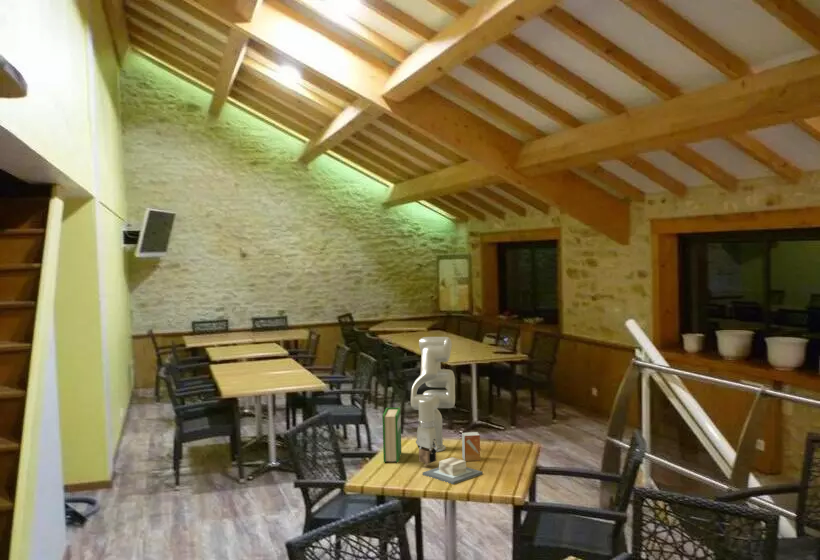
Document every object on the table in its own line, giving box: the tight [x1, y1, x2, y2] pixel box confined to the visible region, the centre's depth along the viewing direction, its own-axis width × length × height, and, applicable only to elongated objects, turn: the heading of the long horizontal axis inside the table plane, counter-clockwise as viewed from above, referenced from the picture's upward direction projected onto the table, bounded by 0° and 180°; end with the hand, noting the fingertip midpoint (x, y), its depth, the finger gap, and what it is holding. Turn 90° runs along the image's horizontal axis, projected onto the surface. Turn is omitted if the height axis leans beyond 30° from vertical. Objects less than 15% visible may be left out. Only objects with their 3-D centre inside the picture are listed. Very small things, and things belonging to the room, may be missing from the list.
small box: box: [461, 431, 481, 462], centre depth 352 cm, size 8×6×13 cm
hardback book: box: [382, 407, 402, 463], centre depth 358 cm, size 18×7×24 cm, turn 176°
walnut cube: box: [418, 448, 437, 465], centre depth 342 cm, size 6×6×6 cm
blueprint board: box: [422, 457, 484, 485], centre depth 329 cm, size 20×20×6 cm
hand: (427, 459), depth 342 cm, fingers closed on walnut cube, 6 cm apart
